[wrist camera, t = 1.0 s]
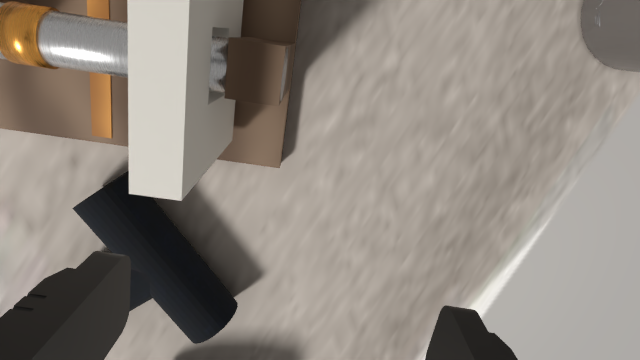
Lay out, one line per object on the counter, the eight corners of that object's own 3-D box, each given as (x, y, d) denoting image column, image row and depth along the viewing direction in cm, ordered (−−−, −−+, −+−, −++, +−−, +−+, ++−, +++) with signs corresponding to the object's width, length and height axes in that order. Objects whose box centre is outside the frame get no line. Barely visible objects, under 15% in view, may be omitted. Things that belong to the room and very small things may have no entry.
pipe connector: (124, 386, 36) (-4, 258, 31) (147, 343, 41) (39, 228, 36) (231, 327, 34) (110, 184, 30) (241, 290, 39) (139, 163, 35)
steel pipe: (289, 44, 24) (285, 45, 21) (283, 99, 25) (278, 107, 22) (-91, -17, 23) (-155, -25, 20) (-81, 43, 24) (-140, 45, 21)
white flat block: (246, -35, 27) (193, -86, 16) (232, 140, 31) (181, 201, 20) (208, -41, 27) (126, -97, 15) (199, 135, 31) (128, 193, 19)
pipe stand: (307, -52, 29) (301, -94, 19) (281, 162, 34) (266, 211, 25) (-13, -106, 28) (-185, -180, 18) (11, 123, 33) (-112, 159, 23)
